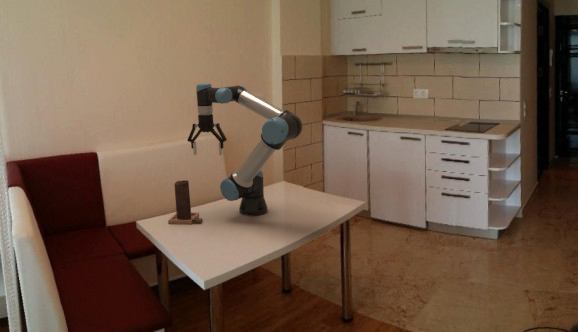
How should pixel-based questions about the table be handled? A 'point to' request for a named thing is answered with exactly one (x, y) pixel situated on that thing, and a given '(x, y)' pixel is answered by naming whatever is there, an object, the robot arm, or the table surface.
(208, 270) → the table surface
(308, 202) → the table surface
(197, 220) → the matchbox
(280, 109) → the robot arm
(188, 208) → the dark brown tall piece
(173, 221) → the dish
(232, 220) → the table surface
